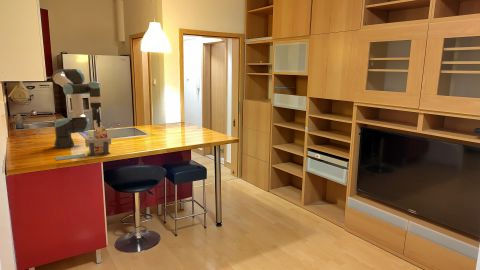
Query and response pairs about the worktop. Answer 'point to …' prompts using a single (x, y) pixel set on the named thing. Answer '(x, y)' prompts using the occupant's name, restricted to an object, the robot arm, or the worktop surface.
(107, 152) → the standards
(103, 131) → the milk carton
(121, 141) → the worktop surface
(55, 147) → the robot arm
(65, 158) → the mat
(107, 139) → the rail
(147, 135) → the worktop surface
